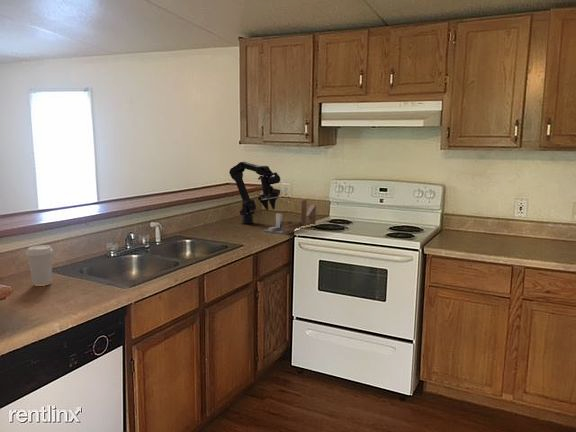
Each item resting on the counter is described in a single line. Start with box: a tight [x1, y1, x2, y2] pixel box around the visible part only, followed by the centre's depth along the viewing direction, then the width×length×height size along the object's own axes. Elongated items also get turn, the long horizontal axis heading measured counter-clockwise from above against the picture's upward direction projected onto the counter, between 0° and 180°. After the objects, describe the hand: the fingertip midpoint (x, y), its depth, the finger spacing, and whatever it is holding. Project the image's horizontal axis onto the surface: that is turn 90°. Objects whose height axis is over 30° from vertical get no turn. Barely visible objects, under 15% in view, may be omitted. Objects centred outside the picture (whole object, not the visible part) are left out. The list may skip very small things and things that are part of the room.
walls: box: [282, 219, 301, 233], centre depth 298 cm, size 16×18×4 cm
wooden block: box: [300, 199, 317, 226], centre depth 307 cm, size 4×11×18 cm, turn 131°
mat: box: [263, 226, 295, 235], centre depth 298 cm, size 16×18×1 cm
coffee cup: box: [25, 244, 54, 284], centre depth 189 cm, size 10×10×15 cm
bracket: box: [267, 212, 283, 232], centre depth 294 cm, size 4×8×10 cm, turn 131°
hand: (270, 209), depth 307 cm, fingers open, 9 cm apart
